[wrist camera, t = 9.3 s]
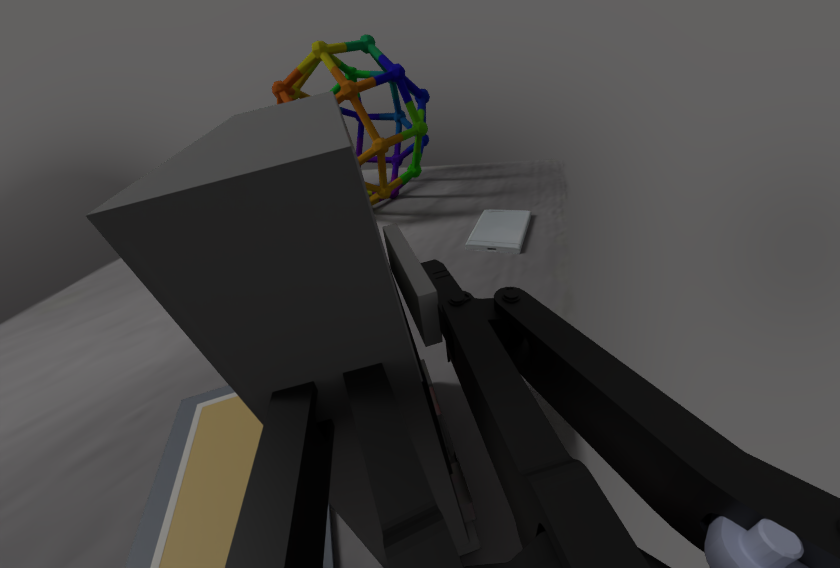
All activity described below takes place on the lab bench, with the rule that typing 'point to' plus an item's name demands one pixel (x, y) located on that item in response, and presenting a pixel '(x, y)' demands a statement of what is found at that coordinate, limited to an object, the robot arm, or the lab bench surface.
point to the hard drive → (500, 231)
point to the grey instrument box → (288, 286)
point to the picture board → (202, 486)
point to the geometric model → (350, 91)
